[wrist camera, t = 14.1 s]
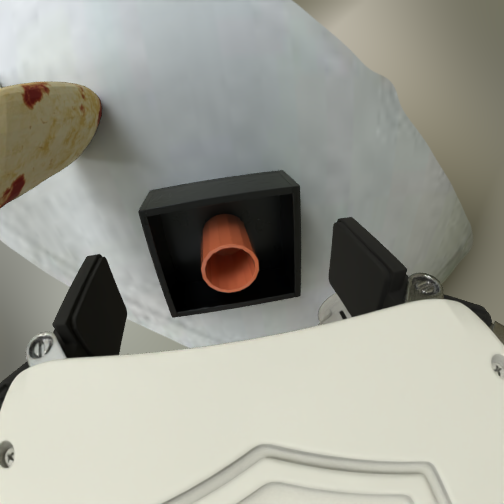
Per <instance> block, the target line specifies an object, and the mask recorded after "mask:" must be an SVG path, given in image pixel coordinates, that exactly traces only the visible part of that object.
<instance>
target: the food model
mask: <svg viewBox="0 0 504 504" xmlns="http://www.w3.org/2000/svg"><path fill="white" fill-rule="evenodd" d="M101 116H102V106H101V101H100V99H99V97H98V96H97V95H96V94H95V93H94V92H93V91H91V90H90V89H89V88H87V87H85V86H82V85H78V84H73V83H67V82H32V83H24V84H17V85H12V86H7V87H3V88H0V208H1V207H3V206H4V205H5V204H7V203H8V202H10V201H12V200H14V199H16V198H17V197H19V196H21V195H23V194H24V193H26V192H28V191H29V190H31V189H32V188H34V187H35V186H37V185H38V184H40V183H41V182H43V181H44V180H46V179H47V178H49V177H51V176H52V175H54V174H56V173H58V172H59V171H61V170H62V169H64V168H65V167H67V166H68V165H69V164H71V163H72V162H73V161H75V160H76V159H77V158H78V157H79V156H80V155H81V153H82V152H83V151H84V150H85V148H86V147H87V146H88V145H89V143H90V141H91V140H92V138H93V136H94V134H95V132H96V129H97V127H98V125H99V121H100V118H101Z"/></svg>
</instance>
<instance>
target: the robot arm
mask: <svg viewBox="0 0 504 504" xmlns="http://www.w3.org/2000/svg"><path fill="white" fill-rule="evenodd" d="M0 88H1V85H0ZM406 272H407V268H406V267H405V266H404V265H403V264H402V263H401V262H400V261H399V260H398V259H397V258H396V257H395V256H394V255H393V254H391V253H390V252H389V251H388V250H387V249H386V248H385V247H384V246H383V245H382V244H381V243H380V242H379V241H378V240H377V239H376V238H375V237H373V236H372V235H371V234H370V233H369V232H368V231H367V230H366V229H365V228H364V227H362V226H361V225H360V224H359V223H358V222H357V221H356V220H355V219H353V218H352V217H349V218H340V219H338V221H337V222H336V223H334V226H333V238H332V249H331V259H330V269H329V281H330V284H331V286H332V287H333V289H334V290H335V292H336V293H337V295H338V296H339V298H340V300H341V301H342V303H343V304H344V306H345V307H346V309H347V311H348V312H349V314H350V315H351V318H347V319H343V320H339V321H335V322H331V323H327V324H323V325H318V326H314V327H309V328H305V329H300V330H296V331H291V332H286V333H281V334H276V335H271V336H266V337H261V338H255V339H249V340H244V341H238V342H231V343H225V344H218V345H211V346H204V347H197V348H189V349H180V350H172V351H161V352H152V353H141V354H128V355H119V352H120V346H121V341H122V336H123V332H124V326H125V322H126V318H127V310H126V307H125V304H124V302H123V300H122V297H121V295H120V293H119V290H118V288H117V285H116V283H115V280H114V278H113V275H112V272H111V270H110V267H109V265H108V262H107V259H106V258H105V257H102V256H101V255H100V254H98V255H92V256H87V257H86V259H85V261H84V262H83V264H82V266H81V268H80V270H79V271H78V273H77V275H76V277H75V279H74V281H73V283H72V285H71V287H70V289H69V290H68V292H67V294H66V297H65V299H64V301H63V303H62V305H61V307H60V309H59V311H58V313H57V315H56V318H55V320H54V322H53V327H54V328H55V330H54V332H53V333H52V332H42V333H40V334H37V335H36V336H35V337H34V338H32V339H31V341H30V342H29V344H28V345H27V347H26V358H27V362H26V363H25V364H23V365H22V366H21V367H20V368H18V369H17V370H16V371H14V372H13V373H12V374H11V375H9V376H8V377H7V378H6V379H4V380H3V381H2V382H1V383H0V504H504V326H503V325H501V324H500V323H498V322H496V321H495V322H494V324H493V323H492V320H491V316H490V315H489V313H488V312H487V311H486V309H485V308H484V307H482V306H480V305H477V304H473V303H470V302H467V301H464V300H461V299H457V298H454V297H451V296H448V295H444V294H443V287H442V284H441V283H440V281H439V280H437V279H436V278H435V277H433V276H431V275H429V274H426V273H415V274H412V275H411V276H410V277H408V276H407V275H406Z"/></svg>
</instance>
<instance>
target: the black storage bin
mask: <svg viewBox="0 0 504 504" xmlns="http://www.w3.org/2000/svg"><path fill="white" fill-rule="evenodd" d="M138 212H139V216H140V220H141V223H142V227H143V230H144V234H145V237H146V241H147V244H148V247H149V251H150V254H151V257H152V260H153V263H154V267H155V270H156V273H157V276H158V279H159V282H160V285H161V288H162V290H163V293H164V296H165V299H166V302H167V304H168V307H169V310H170V313H171V315H172V317H181V316H188V315H195V314H201V313H208V312H214V311H221V310H227V309H233V308H239V307H245V306H250V305H256V304H262V303H267V302H272V301H278V300H283V299H288V298H293V297H299V296H300V293H301V214H300V186H299V185H298V184H297V183H296V182H295V181H294V180H293V179H292V178H291V177H290V176H289V175H287V174H286V173H285V172H284V171H283V170H280V171H271V172H262V173H254V174H247V175H239V176H232V177H225V178H219V179H212V180H206V181H200V182H194V183H189V184H183V185H178V186H172V187H167V188H162V189H157V190H152V191H150V192H149V193H148V195H147V197H146V199H145V200H144V202H143V204H142V206H141V208H140V209H139V211H138ZM220 214H231V215H234V216H237V217H238V218H240V219H241V220H242V221H243V222H244V223H245V225H246V227H247V229H248V232H249V235H250V238H251V241H252V243H253V246H254V249H255V252H256V255H257V258H258V262H259V271H258V274H257V277H256V279H255V280H254V281H253V282H252V283H251V284H250V285H249V286H248V287H246V288H244V289H242V290H240V291H237V292H231V293H227V292H220V291H217V290H215V289H213V288H211V287H210V286H209V285H208V284H207V283H206V282H205V280H204V279H203V276H202V272H201V233H202V229H203V227H204V225H205V223H206V222H207V221H208V220H209V219H211V218H212V217H214V216H216V215H220Z"/></svg>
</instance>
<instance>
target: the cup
mask: <svg viewBox="0 0 504 504" xmlns="http://www.w3.org/2000/svg"><path fill="white" fill-rule="evenodd" d="M258 271H259V262H258V258H257V255H256V252H255V249H254V246H253V243H252V241H251V238H250V235H249V232H248V229H247V227H246V225H245V223H244V222H243V221H242V220H241V219H240V218H238V217H237V216H234V215H231V214H220V215H216V216H214V217H212V218H211V219H209V220H208V221H207V222H206V223H205V225H204V227H203V229H202V233H201V272H202V276H203V279H204V280H205V282H206V283H207V284H208V285H209V286H210V287H211V288H213V289H215V290H217V291H220V292H227V293H231V292H237V291H240V290H242V289H244V288H246V287H248V286H249V285H250V284H251V283H252V282H253V281H254V280H255V279H256V277H257V274H258Z"/></svg>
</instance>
